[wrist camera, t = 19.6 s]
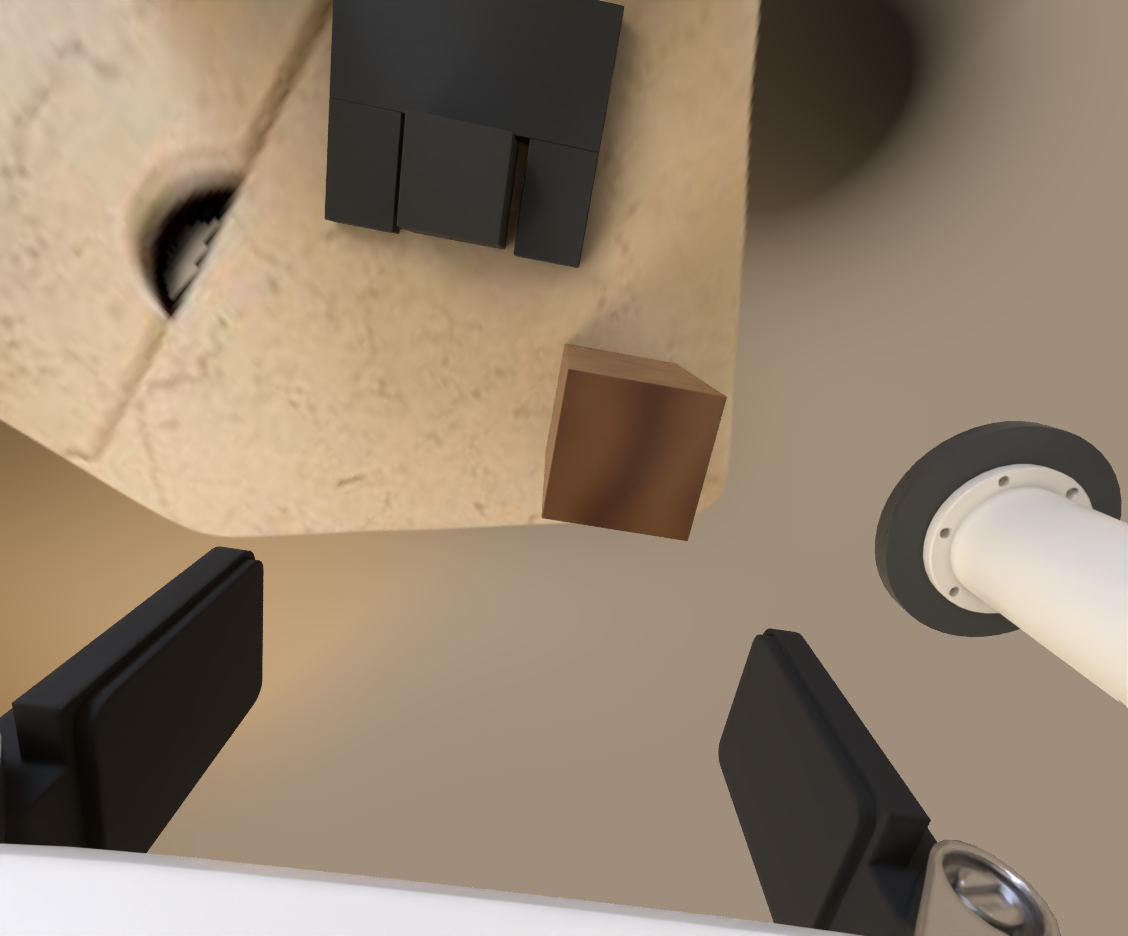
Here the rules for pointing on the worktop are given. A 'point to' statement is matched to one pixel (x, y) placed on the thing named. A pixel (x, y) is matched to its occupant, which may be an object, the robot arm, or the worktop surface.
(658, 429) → the brown wooden block
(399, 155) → the black u-shaped block
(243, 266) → the worktop surface
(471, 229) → the black squat block
